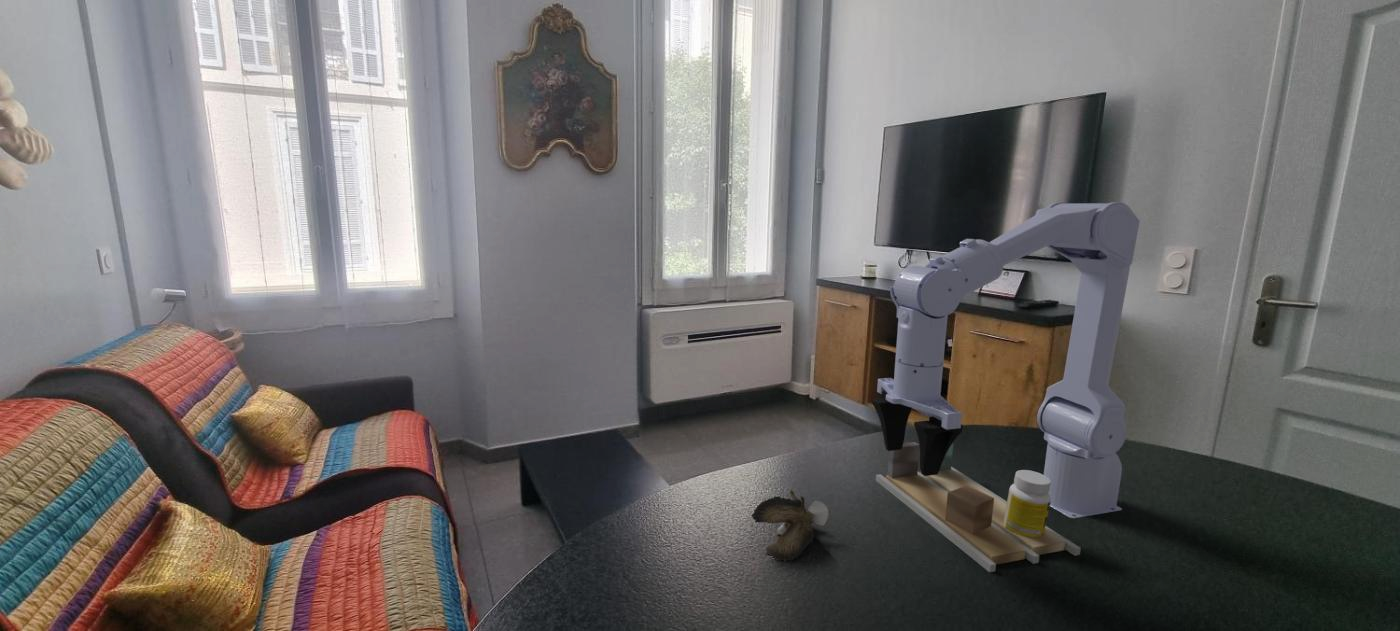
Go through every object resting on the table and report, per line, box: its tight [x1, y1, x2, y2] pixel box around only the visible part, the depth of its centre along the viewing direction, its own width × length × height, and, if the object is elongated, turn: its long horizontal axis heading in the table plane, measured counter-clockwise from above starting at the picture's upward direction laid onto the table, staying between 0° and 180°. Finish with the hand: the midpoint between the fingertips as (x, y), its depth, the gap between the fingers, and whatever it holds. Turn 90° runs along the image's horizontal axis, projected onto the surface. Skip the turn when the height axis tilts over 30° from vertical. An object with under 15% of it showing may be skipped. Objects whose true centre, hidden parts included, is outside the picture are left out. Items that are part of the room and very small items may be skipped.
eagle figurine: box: [751, 488, 830, 562], centre depth 74 cm, size 8×7×9 cm
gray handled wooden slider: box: [885, 441, 1026, 565], centre depth 79 cm, size 5×22×6 cm, turn 16°
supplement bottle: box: [1003, 469, 1051, 538], centre depth 74 cm, size 5×5×8 cm
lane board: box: [875, 466, 1081, 573], centre depth 81 cm, size 14×24×2 cm, turn 16°
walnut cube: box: [945, 485, 994, 535], centre depth 76 cm, size 4×4×4 cm
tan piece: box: [919, 442, 1065, 556], centre depth 81 cm, size 5×22×6 cm, turn 16°
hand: (910, 461), depth 75 cm, fingers open, 7 cm apart
